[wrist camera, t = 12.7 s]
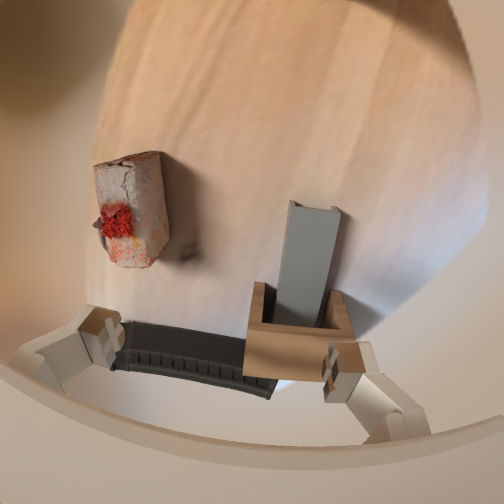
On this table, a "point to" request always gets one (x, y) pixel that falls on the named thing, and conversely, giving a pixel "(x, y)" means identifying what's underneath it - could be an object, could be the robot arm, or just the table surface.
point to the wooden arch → (293, 341)
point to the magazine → (189, 357)
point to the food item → (132, 209)
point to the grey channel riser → (304, 264)
